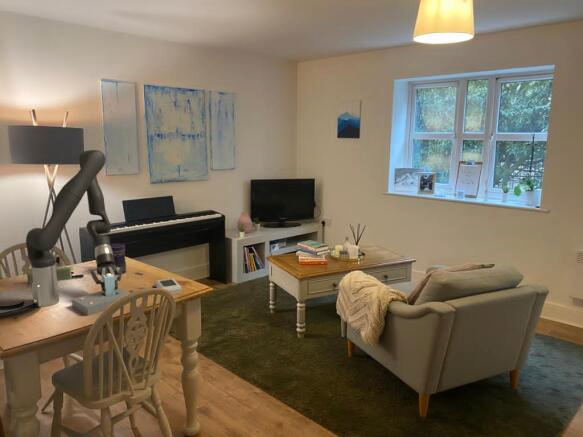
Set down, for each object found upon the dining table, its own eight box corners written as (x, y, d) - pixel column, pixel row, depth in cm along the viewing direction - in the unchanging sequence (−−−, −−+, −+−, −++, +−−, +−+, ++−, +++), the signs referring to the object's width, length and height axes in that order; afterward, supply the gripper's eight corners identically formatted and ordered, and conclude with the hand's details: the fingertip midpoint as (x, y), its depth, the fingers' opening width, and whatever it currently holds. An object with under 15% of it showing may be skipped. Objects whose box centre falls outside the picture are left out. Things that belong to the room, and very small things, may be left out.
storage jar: (103, 273, 238) (100, 245, 235) (119, 268, 246) (117, 242, 243) (114, 276, 232) (112, 248, 230) (130, 271, 240) (128, 245, 238)
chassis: (87, 315, 184) (87, 306, 183) (72, 306, 192) (71, 298, 192) (132, 301, 199) (131, 293, 198) (116, 294, 208) (115, 286, 207)
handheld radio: (28, 282, 223) (83, 276, 233) (27, 285, 220) (83, 278, 230) (27, 270, 221) (82, 264, 231) (26, 272, 218) (82, 266, 228)
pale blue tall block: (106, 299, 196) (104, 276, 194) (104, 296, 200) (103, 273, 198) (115, 297, 198) (114, 274, 196) (114, 295, 202) (112, 272, 200)
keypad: (173, 276, 223) (181, 285, 210) (173, 283, 224) (182, 293, 211) (153, 279, 219) (161, 289, 206) (154, 286, 219) (161, 296, 206)
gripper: (87, 254, 198) (93, 289, 190) (121, 250, 205) (128, 283, 197) (87, 263, 204) (92, 296, 196) (120, 258, 211) (126, 291, 203)
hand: (110, 290), depth 197 cm, fingers closed on pale blue tall block, 4 cm apart
